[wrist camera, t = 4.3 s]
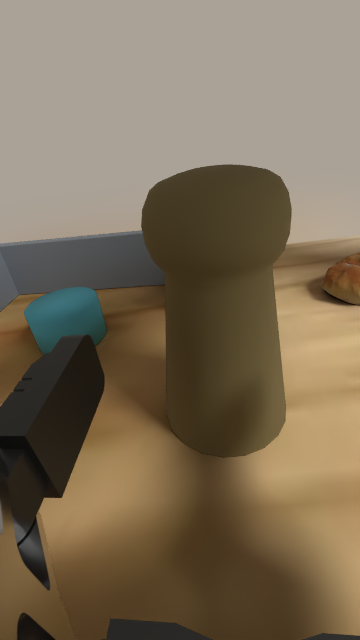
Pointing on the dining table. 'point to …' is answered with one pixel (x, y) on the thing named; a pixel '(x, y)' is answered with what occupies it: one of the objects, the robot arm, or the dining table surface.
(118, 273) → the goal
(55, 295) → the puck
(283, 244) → the cork
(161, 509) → the dining table surface
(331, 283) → the pastry
